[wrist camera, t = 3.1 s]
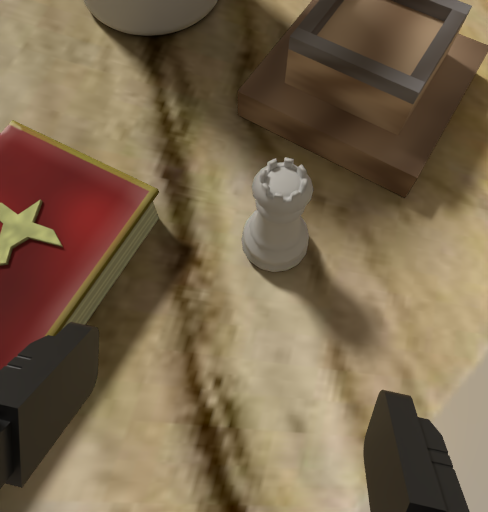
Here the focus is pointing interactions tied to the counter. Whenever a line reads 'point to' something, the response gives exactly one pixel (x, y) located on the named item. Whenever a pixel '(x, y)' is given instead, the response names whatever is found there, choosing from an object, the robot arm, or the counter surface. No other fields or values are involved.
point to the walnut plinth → (366, 83)
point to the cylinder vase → (149, 14)
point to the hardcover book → (61, 234)
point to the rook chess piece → (278, 216)
